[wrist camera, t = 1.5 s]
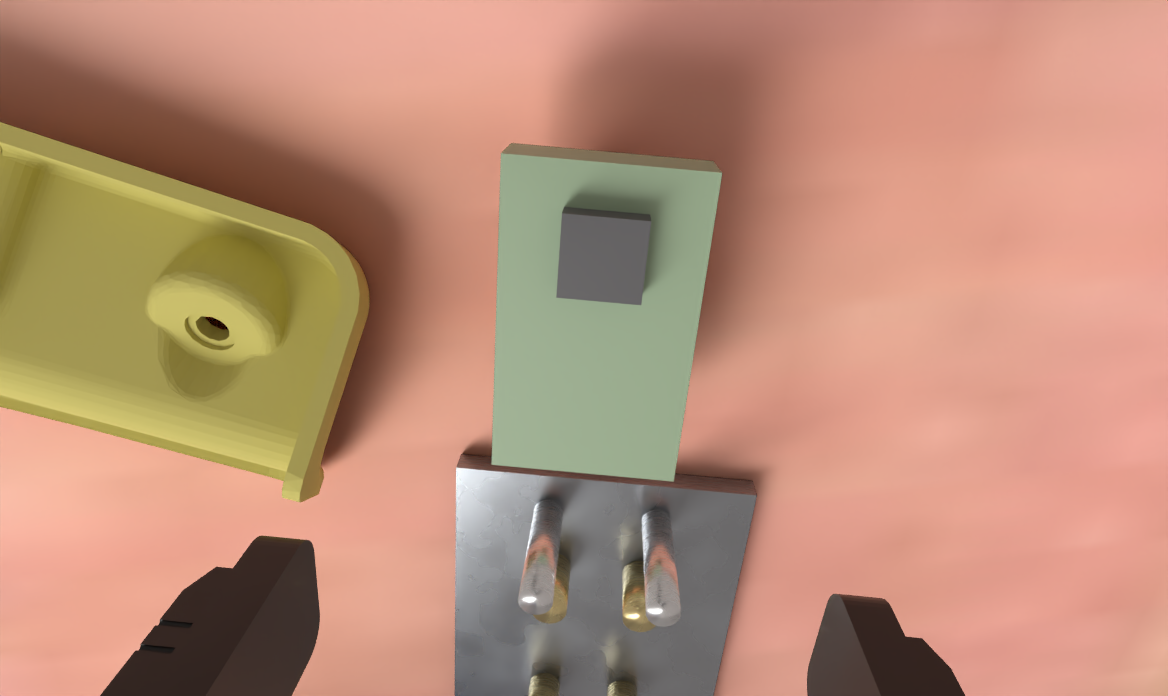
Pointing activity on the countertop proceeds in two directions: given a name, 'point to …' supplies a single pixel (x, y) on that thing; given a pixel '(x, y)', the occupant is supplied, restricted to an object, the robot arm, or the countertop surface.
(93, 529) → the countertop surface
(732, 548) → the chassis
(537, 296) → the board
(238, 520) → the countertop surface
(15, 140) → the plastic component
